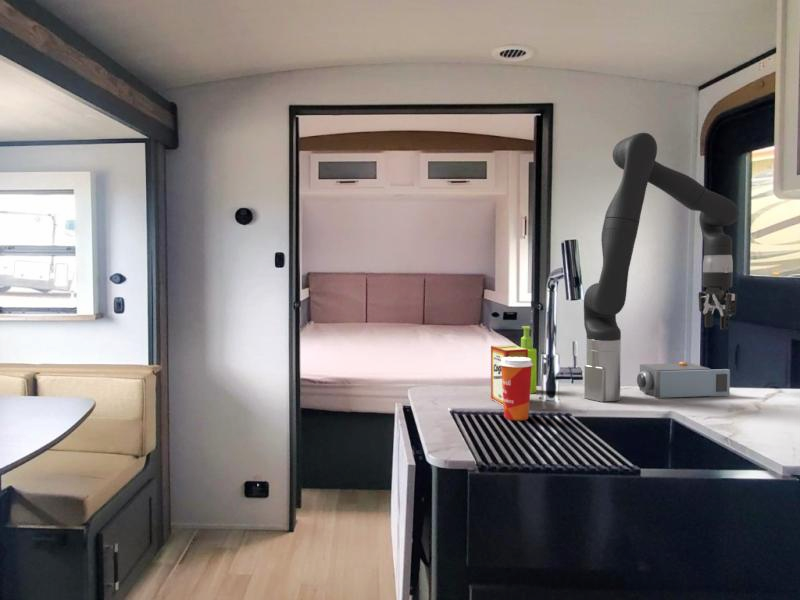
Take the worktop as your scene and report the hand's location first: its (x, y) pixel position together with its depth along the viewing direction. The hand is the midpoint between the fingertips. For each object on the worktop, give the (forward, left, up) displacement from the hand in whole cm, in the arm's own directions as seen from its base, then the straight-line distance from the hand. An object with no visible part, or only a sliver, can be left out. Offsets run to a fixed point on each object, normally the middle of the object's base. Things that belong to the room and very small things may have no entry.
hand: (716, 328), depth 160 cm
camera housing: (-9, +9, -20) cm, 23 cm away
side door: (-9, +2, -19) cm, 21 cm away
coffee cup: (-65, +18, -20) cm, 70 cm away
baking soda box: (-55, +30, -20) cm, 66 cm away
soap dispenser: (-40, +37, -20) cm, 58 cm away
